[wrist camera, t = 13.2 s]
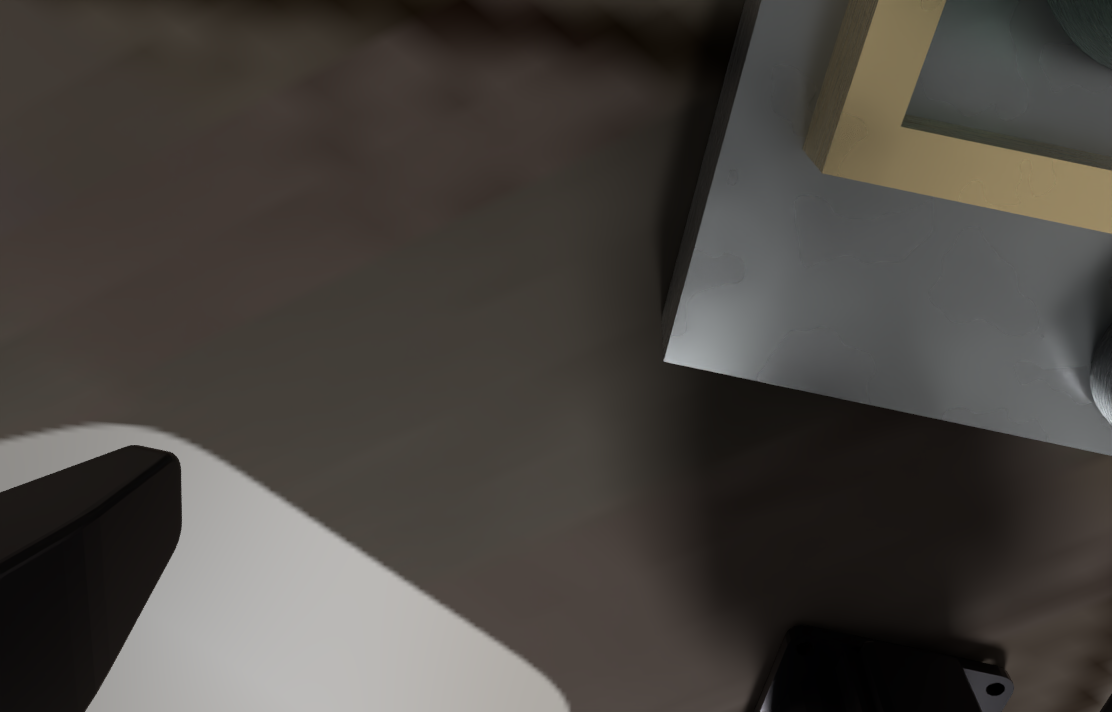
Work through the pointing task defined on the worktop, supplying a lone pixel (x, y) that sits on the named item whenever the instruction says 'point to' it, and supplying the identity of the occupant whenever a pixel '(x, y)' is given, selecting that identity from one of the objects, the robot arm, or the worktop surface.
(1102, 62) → the spout can
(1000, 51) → the grey tray base
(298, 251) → the worktop surface
